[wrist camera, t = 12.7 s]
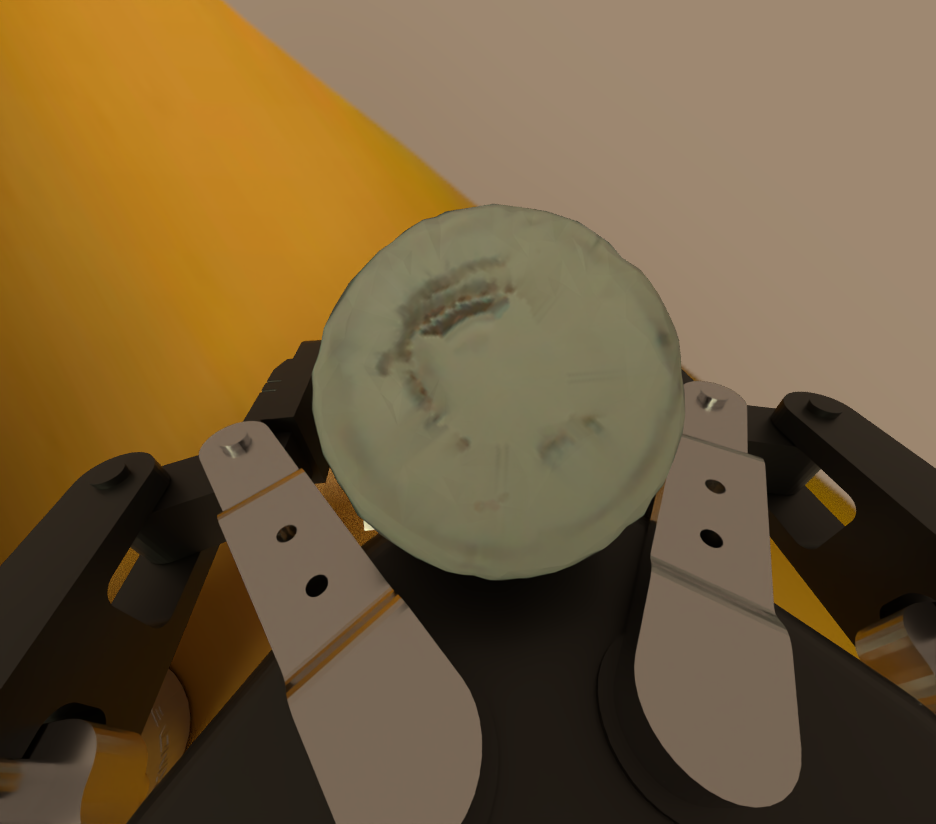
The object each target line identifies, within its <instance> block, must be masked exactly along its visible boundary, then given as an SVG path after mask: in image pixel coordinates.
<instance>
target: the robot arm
mask: <svg viewBox="0 0 936 824" xmlns="http://www.w3.org/2000/svg"><path fill="white" fill-rule="evenodd" d="M320 345H321V340H316V341H304V342H302V343H301V345H300V346H299V348H298V350H297V352H296V354H295V356H294V358H293V359H287V360H285V361H284V362H283V363H282V364H280V365H279V366H278V367H277V368H275V369H274V370H273V372H272V374H271V375H270V377H269V379H268V380H267V382H268V383H266V384H265V385H264V387H263V389H262V393H260V394H259V396H258V397H257V399H256V401H255V402H254V404H253V406H252V407H251V409H250V411H249V412H248V414H247V416H246V418H245V419H244V421H243V422H240V423H236V424H233V425H230V426H228V427H226V428H224V429H222V430H220V431H218V432H216V433H215V434H214V435H212V436H211V437H210V438H209V439H208V440H207V441H206V442H205V443H204V444H203V446H202V447H201V449H200V452H199V455H198V456H194V457H191V458H188V459H184V460H181V461H178V462H174V463H171V464H168V465H164V466H161V465H160V464H159V463H158V462H157V461H156V460H155V459H154V458H153V457H152V455H150V454H148V453H144V452H135V453H128V454H124V455H120V456H117V457H114V458H112V459H109V460H107V461H105V462H103V463H101V464H99V465H97V466H95V467H94V468H92V469H90V470H89V471H88V472H86V473H85V474H84V475H82V476H81V477H80V478H79V479H78V480H77V481H76V482H75V483H74V484H73V485H72V486H71V487H70V488H69V489H68V491H67V492H66V493H65V494H64V495H63V496H62V497H61V498H60V500H59V501H58V502H57V503H56V504H55V505H54V506H53V508H52V509H51V510H50V511H49V512H48V513H47V514H46V515H45V517H44V518H43V519H42V520H41V521H40V522H39V523H38V524H37V526H36V527H35V528H34V529H33V530H32V531H31V532H30V533H29V535H28V536H27V537H26V538H25V539H24V540H23V541H22V543H21V544H20V545H19V546H18V547H17V548H16V549H15V550H14V552H13V553H12V554H11V555H10V556H9V557H8V558H7V559H6V561H5V562H4V563H3V564H2V565H1V566H0V824H936V468H934V467H933V466H931V465H930V464H929V463H927V462H926V461H924V460H923V459H922V458H920V457H919V456H917V455H916V454H915V453H913V452H912V451H910V450H909V449H908V448H906V447H905V446H903V445H902V444H900V443H899V442H898V441H896V440H895V439H894V438H892V437H891V436H889V435H888V434H886V433H885V432H884V431H882V430H881V429H879V428H878V427H877V426H875V425H874V424H872V423H871V422H870V421H868V420H867V419H866V418H864V417H863V416H861V415H860V414H859V413H857V412H856V411H854V410H853V409H851V408H850V407H848V406H847V405H845V404H843V403H841V402H839V401H837V400H835V399H832V398H829V397H826V396H823V395H819V394H815V393H809V392H793V393H789V394H787V395H786V396H785V397H784V398H783V399H782V401H781V402H780V404H779V405H778V406H777V408H776V409H775V408H765V407H758V406H749V405H746V402H745V400H744V399H743V398H742V397H741V396H740V395H739V394H737V393H736V392H734V391H733V390H731V389H729V388H727V387H725V386H722V385H719V384H716V383H711V382H705V381H693V380H692V379H691V378H690V377H689V376H688V375H687V374H686V373H685V372H684V371H683V370H682V369H681V374H682V379H683V385H684V393H685V421H684V428H683V434H682V437H681V440H680V443H679V446H678V449H677V452H676V455H675V458H674V461H673V463H672V466H671V468H670V470H669V473H668V475H667V478H666V480H665V482H664V485H663V486H662V487H661V489H660V490H659V491H658V492H657V493H656V495H655V496H654V497H653V498H652V500H651V502H650V504H649V506H648V508H647V510H646V512H645V514H644V515H643V516H642V517H641V518H639V519H638V520H637V521H635V522H634V523H632V524H630V525H629V526H627V527H626V528H625V529H624V530H623V531H622V532H621V534H620V535H619V536H618V537H617V538H616V539H615V540H614V541H613V542H612V543H610V544H609V545H608V546H607V547H606V548H604V549H602V550H601V551H599V552H597V553H596V554H594V555H592V556H590V557H588V558H586V559H584V560H582V561H580V562H579V563H577V564H575V565H572V566H570V567H567V568H565V569H562V570H559V571H557V572H554V573H550V574H545V575H541V576H536V577H532V578H516V579H510V580H487V579H484V578H481V577H478V576H474V575H462V574H457V573H452V572H447V571H444V570H442V569H440V568H438V567H435V566H433V565H431V564H429V563H426V562H424V561H422V560H420V559H417V558H415V557H414V556H412V555H411V554H409V553H407V552H406V551H404V550H403V549H401V548H400V547H398V546H397V545H395V544H394V543H392V542H391V541H389V540H388V539H386V538H385V537H383V536H382V535H380V534H377V535H375V536H374V537H372V538H371V539H370V540H369V541H367V542H366V543H365V544H363V545H362V546H361V547H360V545H359V544H358V543H357V541H356V540H355V538H354V537H353V536H352V534H351V533H350V532H349V530H348V529H347V528H346V526H345V525H344V524H343V522H342V521H341V520H340V518H339V517H338V516H337V514H336V513H335V512H334V510H333V509H332V508H331V506H330V505H329V503H328V502H327V501H326V499H325V498H324V497H323V495H322V494H321V493H320V491H319V490H318V489H317V487H316V486H315V485H314V484H317V483H326V479H327V475H328V471H329V467H330V466H329V464H328V462H327V461H326V459H325V457H324V455H323V452H322V448H321V444H320V440H319V436H318V433H317V429H316V425H315V420H314V416H313V411H312V400H313V383H312V371H313V368H314V366H315V363H316V360H317V357H318V354H319V350H320ZM820 469H822V470H823V471H824V472H825V473H826V474H827V475H828V476H829V477H830V478H831V479H833V481H835V482H836V483H837V484H838V485H839V486H840V487H841V488H842V489H843V490H844V491H845V492H846V493H847V494H848V495H849V496H850V497H851V498H852V499H853V501H854V503H855V506H856V516H855V518H854V520H853V521H851V522H850V523H849V524H848V525H846V526H844V525H843V524H842V523H841V522H840V521H839V520H838V519H837V518H836V517H835V516H834V515H833V514H832V513H831V512H830V511H829V510H828V509H827V508H826V507H825V506H824V505H823V504H822V503H821V502H820V501H819V500H818V499H817V498H816V497H815V495H814V494H813V493H812V492H811V491H810V490H809V489H808V488H807V487H806V486H805V484H806V483H807V482H808V481H809V480H810V479H811V478H812V477H813V476H814V475H815V474H816V473H817V472H818V471H819V470H820ZM769 536H770V537H771V539H772V540H773V541H774V542H775V544H776V545H777V546H778V548H779V549H780V550H781V551H782V553H783V554H784V555H785V557H786V558H787V559H788V560H789V562H790V563H791V564H792V566H793V567H794V568H795V570H796V571H797V572H798V573H799V575H800V576H801V577H802V579H803V580H804V581H805V582H806V584H807V585H808V586H809V588H810V589H811V590H812V591H813V593H814V594H815V595H816V597H817V598H818V599H819V600H820V602H821V603H822V604H823V606H824V607H825V608H826V610H827V611H828V612H829V613H830V615H831V616H832V617H833V619H834V620H835V621H836V622H837V624H838V625H839V626H840V628H841V629H842V630H843V631H844V633H845V634H846V635H847V637H848V638H849V639H850V641H851V642H852V643H853V644H854V646H855V647H856V651H857V654H858V656H859V659H860V660H859V659H857V658H856V657H854V656H853V655H851V654H850V653H848V652H847V651H845V650H844V649H842V648H841V647H839V646H838V645H836V644H835V643H833V642H832V641H830V640H829V639H827V638H826V637H824V636H823V635H821V634H820V633H818V632H817V631H815V630H814V629H812V628H811V627H809V626H808V625H806V624H805V623H803V622H802V621H800V620H799V619H797V618H796V617H794V616H793V615H791V614H790V613H788V612H787V611H785V610H784V609H782V608H781V607H779V606H778V605H776V604H775V603H773V586H772V570H771V553H770V537H769ZM226 541H227V543H228V546H229V548H230V550H231V553H232V555H233V558H234V560H235V562H236V565H237V567H238V569H239V572H240V574H241V577H242V579H243V581H244V584H245V586H246V588H247V591H248V593H249V596H250V598H251V600H252V603H253V605H254V607H255V610H256V612H257V614H258V617H259V619H260V622H261V624H262V626H263V629H264V631H265V633H266V636H267V638H268V641H269V643H270V645H271V648H272V650H271V651H270V652H269V654H268V655H267V656H266V657H265V658H264V660H263V661H262V662H261V663H260V664H259V665H258V667H257V668H256V669H255V670H254V671H253V672H252V674H251V675H250V676H249V677H248V678H247V680H246V681H245V682H244V683H243V684H242V685H241V687H240V688H239V689H238V690H237V691H236V693H235V694H234V695H233V696H232V697H231V698H230V700H229V701H228V702H227V703H226V704H225V705H224V707H223V708H222V709H221V710H220V711H219V713H218V714H217V715H216V716H215V717H214V718H213V720H212V721H211V722H210V723H209V724H208V726H207V727H206V728H205V729H204V730H203V731H202V733H201V734H200V735H199V736H198V737H197V738H196V740H195V741H194V742H193V743H192V744H191V746H190V747H189V748H188V749H187V750H186V751H185V748H186V744H187V740H188V737H189V730H190V711H189V704H188V700H187V697H186V694H185V691H184V689H183V686H182V685H181V683H180V682H179V680H178V679H177V677H176V676H175V674H174V673H173V672H172V671H171V670H170V669H169V666H170V664H171V662H172V659H173V657H174V654H175V652H176V649H177V647H178V645H179V642H180V640H181V637H182V635H183V632H184V630H185V627H186V625H187V623H188V620H189V618H190V615H191V613H192V610H193V608H194V606H195V603H196V601H197V598H198V596H199V593H200V591H201V589H202V586H203V584H204V581H205V579H206V576H207V574H208V572H209V569H210V567H211V564H212V562H213V559H214V557H215V555H216V552H217V550H218V547H219V545H220V544H221V543H224V542H226ZM130 547H131V548H132V549H133V550H135V551H136V552H137V553H139V554H140V556H139V558H138V559H137V561H136V563H135V564H134V566H133V568H132V570H131V571H130V573H129V575H128V576H127V578H126V580H125V581H124V583H123V585H122V587H121V588H120V590H119V592H118V593H117V595H116V597H115V599H114V600H113V602H112V604H110V602H109V600H108V596H107V590H108V585H109V582H110V579H111V577H112V576H113V574H114V572H115V571H116V569H117V567H118V566H119V564H120V563H121V561H122V559H123V558H124V556H125V555H126V553H127V551H128V550H129V548H130ZM184 751H185V753H184ZM183 753H184V754H183Z"/></svg>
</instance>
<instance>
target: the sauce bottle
mask: <svg viewBox="0 0 936 824" xmlns="http://www.w3.org/2000/svg"><path fill="white" fill-rule="evenodd" d="M312 383H313V400H312V411H313V416H314V420H315V425H316V429H317V433H318V436H319V440H320V444H321V448H322V452H323V455H324V457H325V459H326V461H327V462H328V464H329V466H330V468H331V470H332V472H333V474H334V476H335V478H336V480H337V482H338V484H339V485H340V486H341V488H342V489H343V491H344V492H345V493H346V495H347V497H348V498H349V500H350V502H351V504H352V506H353V508H354V510H355V511H356V513H357V515H358V516H359V517H360V518H361V519H363V520H364V521H365V522H366V523H368V524H369V525H370V526H371V527H372V528H374V529H375V530H376V531H377V532H378V533H379V534H380V535H382V536H383V537H385V538H386V539H388V540H389V541H391V542H392V543H394V544H395V545H397V546H398V547H400V548H401V549H403V550H404V551H406V552H407V553H409V554H411V555H412V556H414V557H415V558H417V559H420V560H422V561H424V562H426V563H429V564H431V565H433V566H435V567H438V568H440V569H442V570H444V571H447V572H452V573H457V574H462V575H474V576H478V577H481V578H484V579H487V580H510V579H516V578H532V577H536V576H541V575H545V574H550V573H554V572H557V571H559V570H562V569H565V568H567V567H570V566H572V565H575V564H577V563H579V562H580V561H582V560H584V559H586V558H588V557H590V556H592V555H594V554H596V553H597V552H599V551H601V550H602V549H604V548H606V547H607V546H608V545H609V544H610V543H612V542H613V541H614V540H615V539H616V538H617V537H618V536H619V535H620V534H621V532H622V531H623V530H624V529H625V528H626V527H627V526H629V525H630V524H632V523H634V522H635V521H637V520H638V519H639V518H641V517H642V516H643V515H644V514H645V512H646V510H647V508H648V506H649V504H650V502H651V500H652V498H653V497H654V496H655V495H656V493H657V492H658V491H659V490H660V489H661V487H662V486H663V485H664V482H665V480H666V478H667V475H668V473H669V470H670V468H671V466H672V463H673V461H674V458H675V455H676V452H677V449H678V446H679V443H680V440H681V437H682V434H683V428H684V421H685V393H684V385H683V379H682V374H681V356H680V346H679V339H678V336H677V333H676V330H675V327H674V325H673V323H672V320H671V318H670V316H669V314H668V312H667V310H666V308H665V306H664V304H663V302H662V300H661V298H660V296H659V294H658V293H657V291H656V290H655V289H654V287H653V286H652V284H651V283H650V281H649V280H648V278H646V276H645V275H644V274H643V272H642V271H641V270H640V269H638V268H637V267H635V266H634V265H632V264H631V263H629V262H628V261H626V260H625V259H623V258H622V257H621V256H620V255H619V254H618V253H617V251H616V250H615V249H614V248H613V247H612V246H611V244H610V243H609V242H607V241H606V240H604V239H603V238H602V237H600V236H599V235H597V234H596V233H595V232H593V231H592V230H590V229H588V228H587V227H585V226H584V225H582V224H581V223H579V222H578V221H574V220H571V219H568V218H565V217H562V216H559V215H556V214H553V213H550V212H547V211H541V210H536V209H529V208H522V207H513V206H506V205H499V204H490V205H484V206H478V207H472V208H466V209H460V210H453V211H447V212H444V213H442V214H440V215H439V216H437V217H433V218H429V219H424V220H422V221H420V222H419V223H417V224H415V225H414V226H412V227H411V228H409V229H407V230H406V231H404V232H403V233H402V234H401V235H400V236H399V237H398V238H396V239H395V240H394V241H393V242H392V243H390V244H389V245H387V246H386V247H384V248H383V249H382V250H380V251H379V252H378V253H377V254H376V255H375V256H374V257H373V258H372V259H371V260H370V261H369V262H368V263H367V264H366V265H365V267H364V268H363V269H362V270H361V271H360V272H359V273H358V274H357V275H356V276H355V277H354V278H353V279H352V280H351V281H350V283H349V284H348V286H347V287H346V289H345V291H344V292H343V294H342V295H341V297H340V299H339V300H338V302H337V304H336V305H335V307H334V309H333V311H332V313H331V315H330V317H329V319H328V321H327V323H326V325H325V327H324V331H323V336H322V340H321V345H320V350H319V354H318V357H317V360H316V363H315V366H314V368H313V371H312Z"/></svg>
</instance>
